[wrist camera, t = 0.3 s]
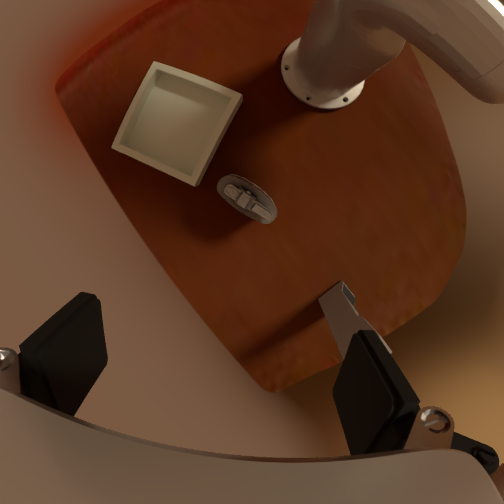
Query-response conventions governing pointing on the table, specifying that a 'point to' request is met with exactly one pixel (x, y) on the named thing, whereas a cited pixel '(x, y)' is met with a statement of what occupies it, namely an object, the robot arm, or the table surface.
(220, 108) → the tray
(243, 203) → the lighter
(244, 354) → the table surface
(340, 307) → the vintage mobile phone
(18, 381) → the robot arm
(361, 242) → the table surface
